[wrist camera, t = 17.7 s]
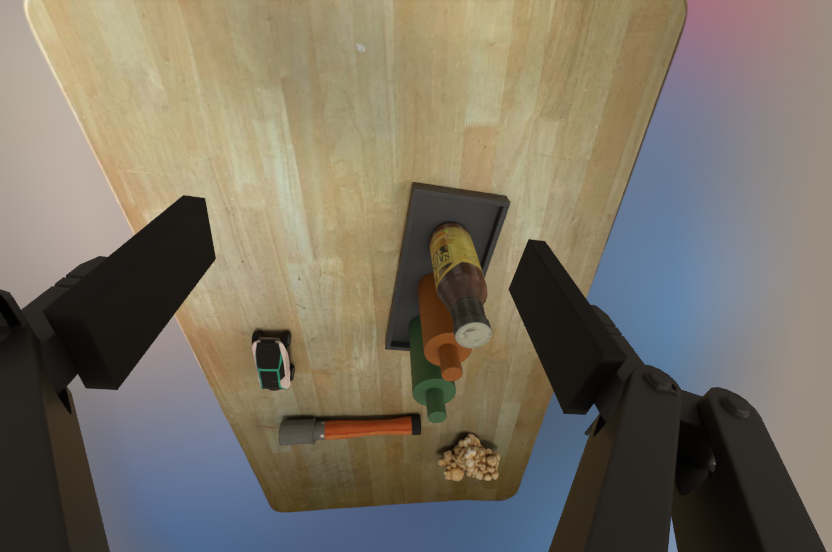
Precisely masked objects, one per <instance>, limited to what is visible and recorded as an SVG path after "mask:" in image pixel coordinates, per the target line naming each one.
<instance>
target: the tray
mask: <svg viewBox="0 0 832 552" xmlns="http://www.w3.org/2000/svg"><path fill="white" fill-rule="evenodd" d="M509 205H510V201H509V200H508V198H507V197H506V196H502V195H495V194H488V193H482V192H475V191H468V190H461V189H455V188H448V187H441V186H435V185H428V184H421V183H415V182H413V185H412V191H411V197H410V203H409V208H408V214H407V220H406V226H405V231H404V237H403V243H402V248H401V254H400V260H399V266H398V271H397V277H396V283H395V289H394V294H393V300H392V306H391V312H390V317H389V323H388V329H387V335H386V343H385V349H390V350H402V351H410V341H409V324H410V322H411V321H412V320H413V319H414V318H416V317H417V316H420V309H419V299H418V284H419V282H420V280H421V279H422V278H423V277H424V276H425V275H427V274H429V273H432V272H433V265H432V259H431V253H430V238H431V236H432V234H433V232H434V231H435V230H436V229H437V228H438V227H439V226H441V225H443V224H446V223H457V224H459V225H461V226H463V227H464V228H465V229H466V230H467V232H468V234H469V235H470V237H471V239H472V242H473V245H474V248H475V251H476V254H477V257H478V260H479V263H480V266H481V269H482V271H483V274H484V278H485V275H486V272H487V269H488V266H489V263H490V260H491V257H492V255H493V252H494V249H495V246H496V243H497V240H498V237H499V234H500V231H501V228H502V226H503V223H504V220H505V217H506V214H507V211H508V207H509Z"/></svg>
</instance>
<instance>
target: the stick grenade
mask: <svg viewBox="0 0 832 552" xmlns="http://www.w3.org/2000/svg"><path fill="white" fill-rule="evenodd" d="M384 434H399V435H421V419H420V415H414V416H408V417H400V418H394V419H381V420H333V421H316V418H313V419H297V420H283V421H282V422H281V425H280V429H279V443H280V445H281V446H282V445H298V444H313V445H314V444H315V440H330V439H346V438H352V437H359V436H368V435H384Z"/></svg>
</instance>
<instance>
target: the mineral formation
mask: <svg viewBox="0 0 832 552" xmlns="http://www.w3.org/2000/svg"><path fill="white" fill-rule="evenodd" d="M483 447H484V446H482V445H481V444H480V441H479V439H478V437H475V436H474V435H473V434H470V433H469V434H468V435H467V437H465V438H464V440H463V439H461V440H460V441H459V443H458V445H456V447H454V449H452V450H449V451H447V452H444V453H443V454H444V458H442V459H441V460H438V465H442V466H444V467H445V468H447V469H446V471H445V472H444V474H445V479H448V480H450V479H452V480H454V481H460V480H461V479H462V478H463V476H464V472H467V473H466V474H467V476H468V477H471V476H472V477H473V478H475V477H476V478H477V479H479V480H482V478H483V479H484V480H488V481H490V480H491V478H493V479H497V478H498V471H497V467H498V465H499V463H498V461H499V460H500V455H499V454H498V453H497V452H493V453H492V450H491V449H489V448H488V449H487V450H486V449H485V448H483Z"/></svg>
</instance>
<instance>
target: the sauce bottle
mask: <svg viewBox="0 0 832 552" xmlns="http://www.w3.org/2000/svg"><path fill="white" fill-rule="evenodd" d="M430 253H431V259H432V265H433V272H434V278H435V284H436V291H437V295H438V297H439V298H440V299H441V301H442V302H443V303H444V305H445V306H446V307H447V309H448V310H449V312H450V314H451V316H452V319H453V325H454V326H453V333H454V337H455V340H456V342H457V343H458V344H459V345H461V346H463V347H466V348H476V347H479V346H482V345H484V344H485V343H487V342H488V341H489V339H490V338H491V334H492V330H491V327H490V323H489V321H488V319H487V318H486V316H485V313H484V307H483V304H484V303H485V302H486V298H487V286H486V283H485V280H484V274H483V271H482V269H481V266H480V263H479V260H478V257H477V254H476V251H475V248H474V245H473V242H472V239H471V237H470V235H469V234H468V232H467V230H466V229H465V228H464V227H463V226H461V225H459V224H457V223H446V224H443V225H441V226H439V227H438V228H437V229H436V230H435V231H434V232H433V234H432V236H431V238H430Z"/></svg>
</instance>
